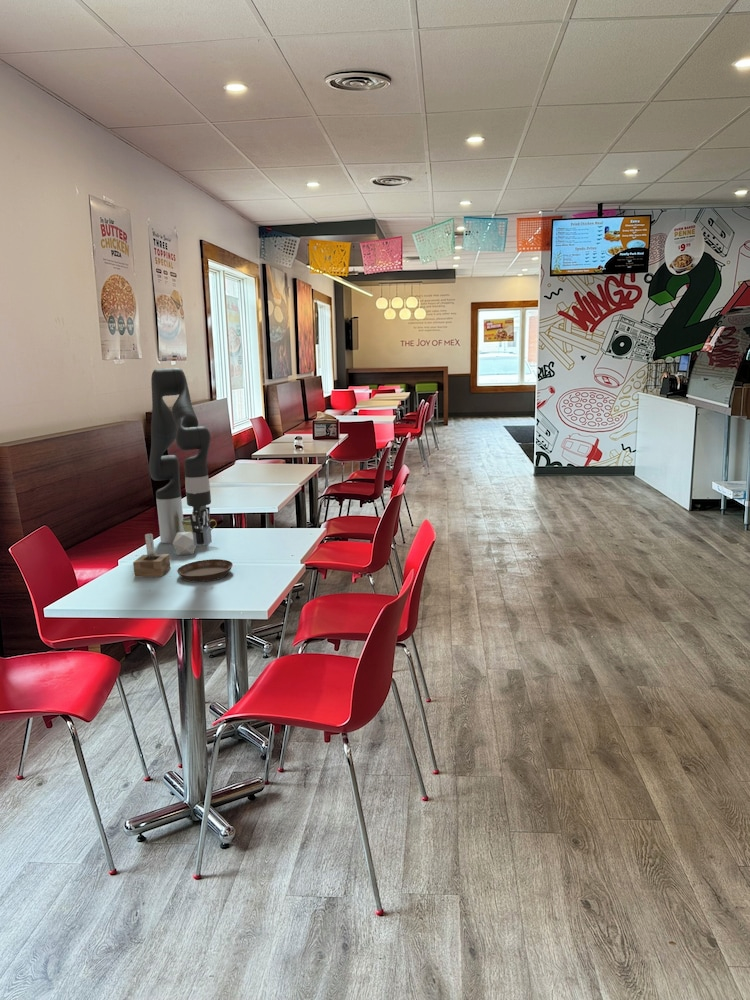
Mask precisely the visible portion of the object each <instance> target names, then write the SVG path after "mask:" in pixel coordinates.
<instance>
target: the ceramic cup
mask: <svg viewBox="0 0 750 1000" xmlns="http://www.w3.org/2000/svg"><path fill="white" fill-rule="evenodd" d="M205 519H206V518H205ZM211 522H215V525H213V527H212V528H211V527H210V528H211V531H212V530H213V529H214V528H216V527H217V526H218V522H217V520H216V519H210V523H211ZM182 524H183V528H184V531H185V532H192V534H193V530H192V525H191V520H190V516H186V517H183V519H182ZM197 527H198V526H197ZM200 546H201V545H196V547H200Z"/></svg>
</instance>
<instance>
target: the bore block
mask: <svg viewBox="0 0 750 1000" xmlns="http://www.w3.org/2000/svg"><path fill="white" fill-rule="evenodd" d="M132 564H133V565H132V568H133V574H134V578H150V577H151V578H153V577H163V576H164V575H166V573H168V571H170V569H171V568H172V567H171V560H170V554H169V553H161V554H159V553H155V560H148V557H147V554H142V555H141V556H139V557H138V558H137V559H136V560H134V561H133V562H132Z"/></svg>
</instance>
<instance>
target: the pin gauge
mask: <svg viewBox="0 0 750 1000" xmlns="http://www.w3.org/2000/svg"><path fill="white" fill-rule="evenodd" d="M144 539H145V547H146V555H147V557H148V560H155V554H156V553H155V544H154V535H153V533H146V534H144Z"/></svg>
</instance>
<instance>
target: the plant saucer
mask: <svg viewBox="0 0 750 1000" xmlns="http://www.w3.org/2000/svg"><path fill="white" fill-rule="evenodd" d="M232 567H233V562H232V561H230V560H227V559H219V558H218V559H216V558H215V559H214V558H211V559H202V560H197V561H192V562H189V563H186V564H183V565H181V566H180V567H177V570H176V572H177V574H178V575H179V576H180V577H181V578H182V579H184V580H185V581H187V582H193V583H199V582H200V583H201V582H211V581H214V580H218V579H219V580H220V579H222V578H224V577H226V576H227V575H228V574H229V573H230V572H231V571H232Z"/></svg>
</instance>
